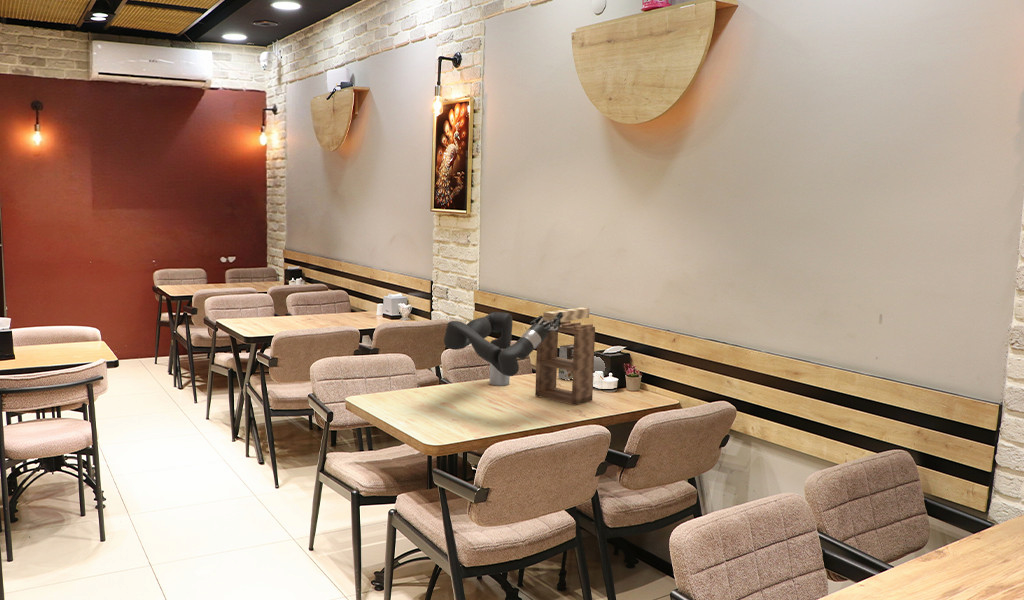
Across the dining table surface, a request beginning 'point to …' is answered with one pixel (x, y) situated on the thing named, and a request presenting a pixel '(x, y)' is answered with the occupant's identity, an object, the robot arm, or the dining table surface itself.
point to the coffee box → (566, 353)
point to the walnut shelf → (567, 365)
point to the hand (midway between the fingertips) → (556, 313)
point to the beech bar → (568, 314)
